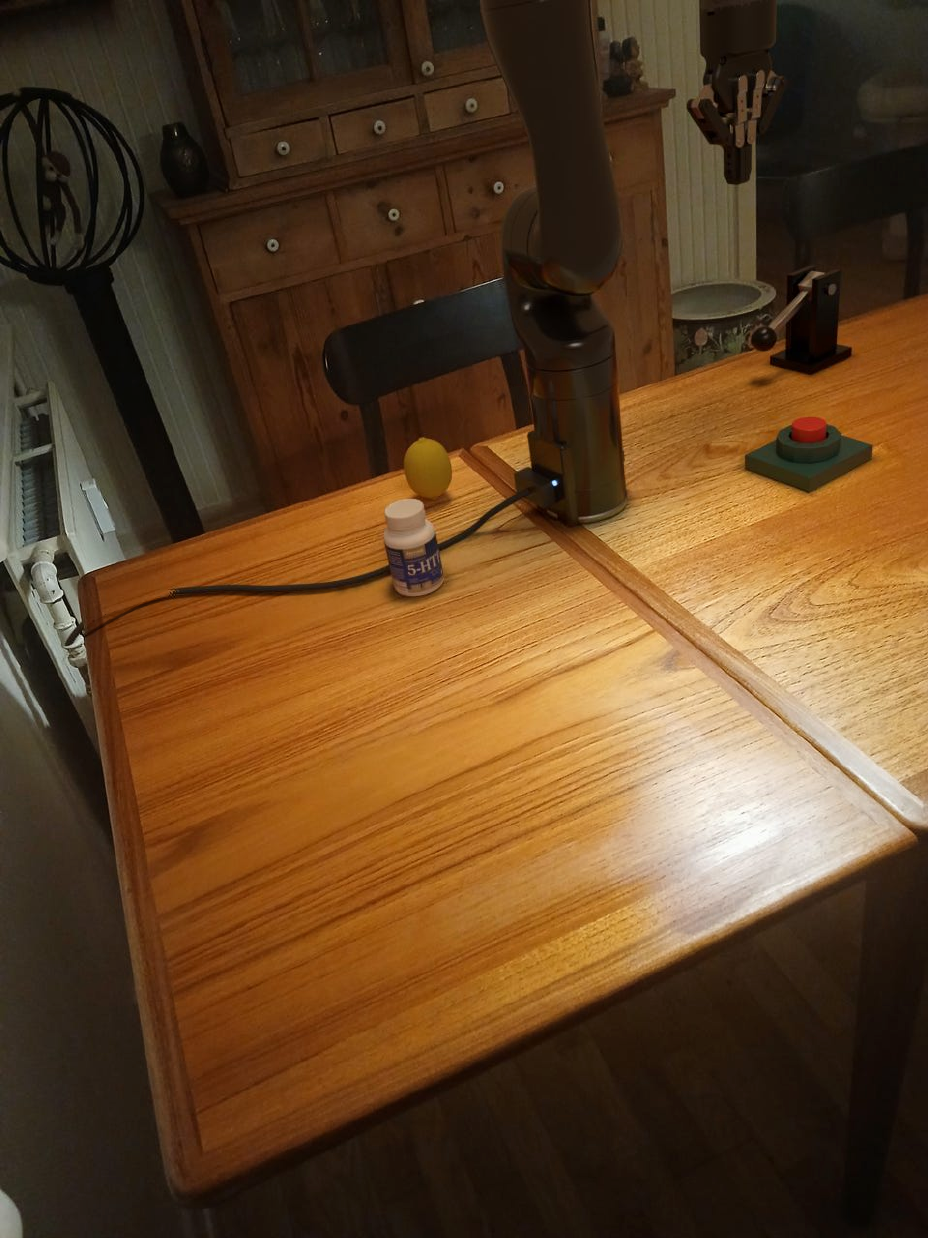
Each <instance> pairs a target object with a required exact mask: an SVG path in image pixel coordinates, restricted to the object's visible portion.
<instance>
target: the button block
mask: <svg viewBox="0 0 928 1238" xmlns="http://www.w3.org/2000/svg"><path fill="white" fill-rule="evenodd" d="M791 428H792V424H790V425H787V426H786V427H784V428H781V429H780V430H778V433H777V435H776V438H775V439H774V440H772V441H770V442H768V443H766V444H764V445H762V446H759V447H758V448H755V449H754V450H752V451H750V452H748V453H745V455H744V468H745V470H748V471H751V472H754V473H756V474H759V475H762V476H764V477H766V478H770V479H773V480H776V481H778V482H781V483H783V484H786V485H788V486H792V487H794V488H797V489H799V490H802V491H805V492H808V493H810V492H812V491H814V490H816V489H817V488H820V487H821V486H823V485H826V484H827V483H829V482H830V481H832V480H835V479H837V478H838V477H840V476H842V475H843V474H846V473H847V472H849V471H851V470H853V469H855V468H856V467H859V466H861V465H863V464H865V463H866V462H868V461H870V460H872V458H873V447H874V446H873V444H871V443H868V442H865V441H861V440H859V439H855V438H852V437H848V436H846V435H843V434H842V432H841V431H840V430H839V429H838V428H837V427H836V426H834V425H831V424H828V423H827V429H826V439H825V440H823V441H821V442H815V443H799V442H796V441H793V440H792V439H791Z"/></svg>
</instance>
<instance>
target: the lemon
mask: <svg viewBox="0 0 928 1238" xmlns="http://www.w3.org/2000/svg"><path fill="white" fill-rule="evenodd" d="M403 470H404V476H405V479H406V483H407V484H408V486H409V489H411V491H412V492H414V494H416V495H417V496H419V497H420V498H425V499H429V500H430V501H436V500H438V498H439V497H440V496H441V495H443V494H444V493H445V492H446V491H447V490H448V489H449V487H450V485H451V482H452V480H453V467H452V462H451V459H450V456H449V454H448V452H447V450H446V449H445V447H444V446H443V445H442V444H441V443H439V442H438V441H436V440H435V439H430V438H426V437H420V438H418V440H416V441H414V442H412V444H411V445H410V446H409V447H408V449H407V450H406V452H405V455H404V461H403Z"/></svg>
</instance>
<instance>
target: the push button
mask: <svg viewBox="0 0 928 1238" xmlns="http://www.w3.org/2000/svg"><path fill="white" fill-rule="evenodd" d="M827 424H828V423H827V421H826V420H825V419H824V418H822V417H819V416H802V417H799V418H796V419H794V420H793V421H792V422H791V425H792V428H791V439H792V440H793V441H796V442H799V443H815V442H821V441H823V440H825V439H826V429H827Z"/></svg>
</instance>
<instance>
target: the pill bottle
mask: <svg viewBox="0 0 928 1238" xmlns="http://www.w3.org/2000/svg"><path fill="white" fill-rule="evenodd" d="M383 515H384V519H385V524H386V526H387V527H386V528H385V529H384V531H383V535H382V539H383V545H384V550H385V553H386V558H387V563H388V565H389V567H390V571H391V572H390V576H391V579H392V584H393V588H394V589H395V591H396V592H397V593H398V594H400V595H402V596H405V597H421V596H425V595H428V594H431V593H433V592H434V591H436V590H438V589H439V588H440V587H441V586H442V584H443V583H444V581H445V575H444V569H443V565H442V559H441V553H440V551H439V548H438V544H439V542H438V538H437V533H436V528H435V526H434V524H433V523H432V522H431V521H430V520H429V519H427V517H426V516H427V515H426V510H425V506H424V502H423V501H422V500H419V499H417V498H416V499H415V498H403V499H399V500H396V501H394V502H391V503H389V504H388V505H387V506H386V507H385V508H384V510H383Z"/></svg>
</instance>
